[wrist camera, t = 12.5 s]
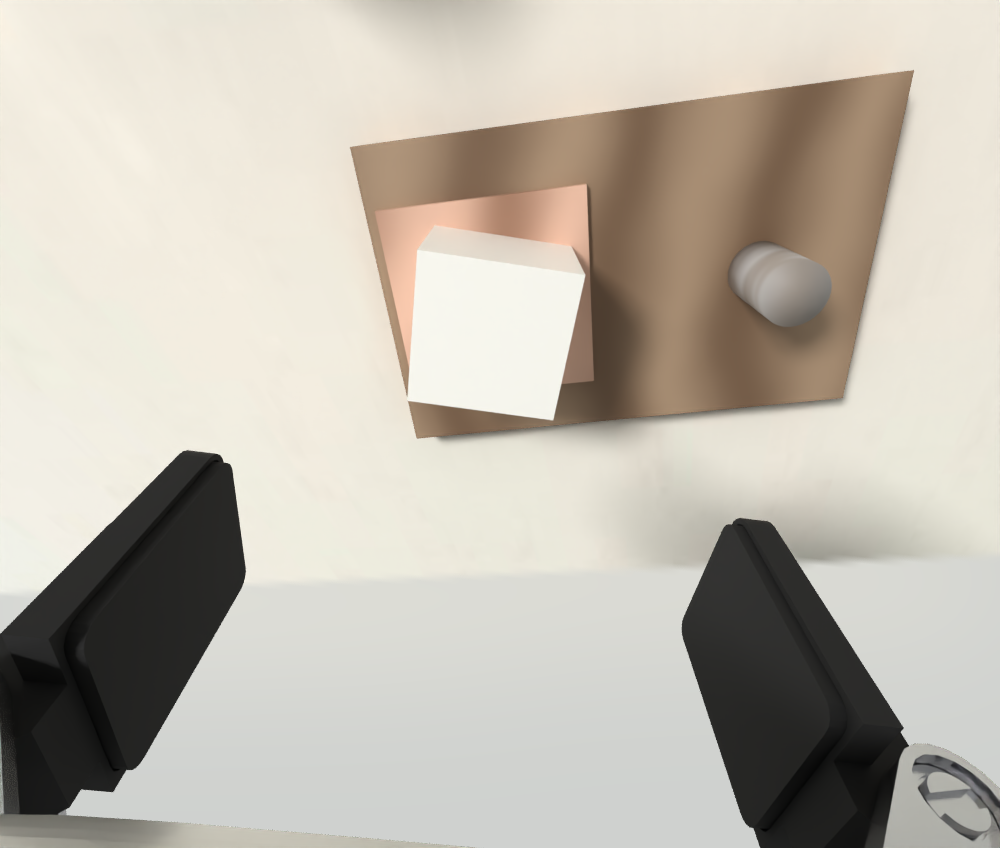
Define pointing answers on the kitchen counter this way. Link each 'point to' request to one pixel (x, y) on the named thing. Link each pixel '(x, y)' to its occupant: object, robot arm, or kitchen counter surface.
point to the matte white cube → (492, 322)
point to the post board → (664, 241)
